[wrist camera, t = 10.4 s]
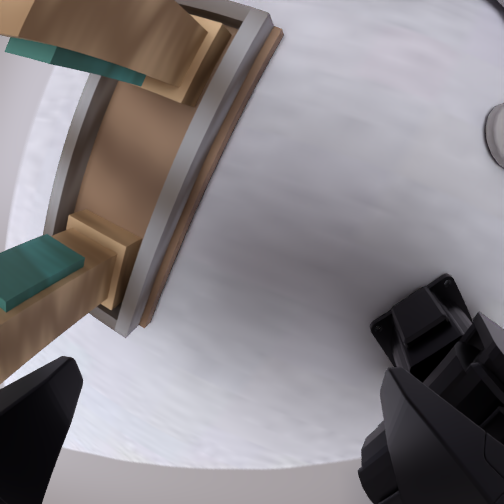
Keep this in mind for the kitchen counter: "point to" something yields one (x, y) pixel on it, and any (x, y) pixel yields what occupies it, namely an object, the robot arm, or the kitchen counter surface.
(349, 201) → the kitchen counter surface
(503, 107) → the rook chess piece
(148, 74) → the weathered wooden tray
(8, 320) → the oak finger
